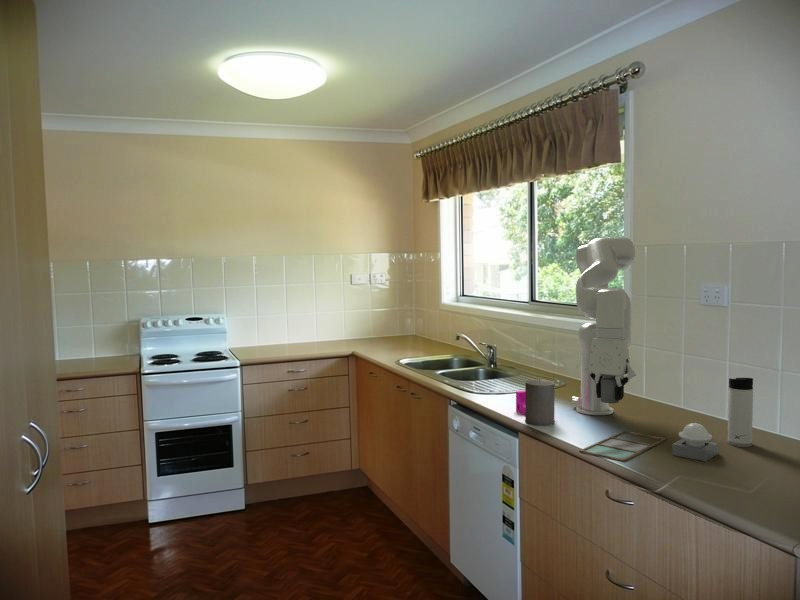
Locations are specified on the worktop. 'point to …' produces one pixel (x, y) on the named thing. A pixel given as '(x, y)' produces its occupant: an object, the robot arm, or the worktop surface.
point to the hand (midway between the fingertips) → (609, 397)
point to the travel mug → (740, 412)
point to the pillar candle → (539, 402)
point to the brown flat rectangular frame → (619, 447)
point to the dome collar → (695, 450)
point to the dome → (695, 435)
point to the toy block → (520, 401)
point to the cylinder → (608, 389)
